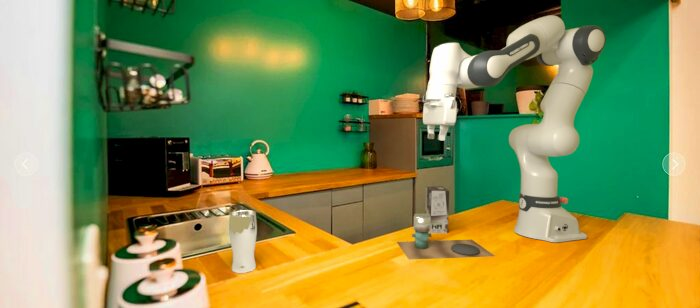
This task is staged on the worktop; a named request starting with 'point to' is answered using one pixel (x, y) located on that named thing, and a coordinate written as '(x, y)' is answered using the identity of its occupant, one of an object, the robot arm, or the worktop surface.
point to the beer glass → (243, 240)
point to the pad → (465, 249)
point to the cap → (422, 222)
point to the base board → (436, 248)
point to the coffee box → (437, 208)
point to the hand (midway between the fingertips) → (435, 139)
